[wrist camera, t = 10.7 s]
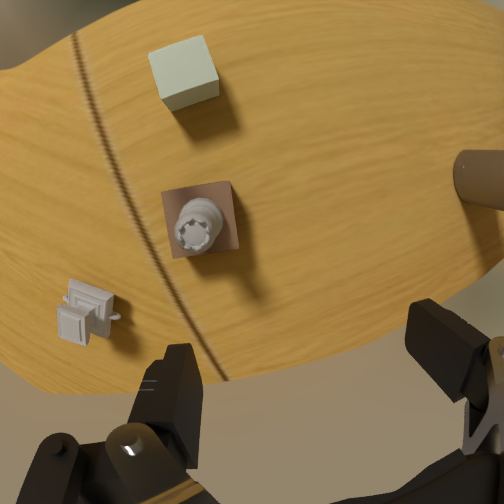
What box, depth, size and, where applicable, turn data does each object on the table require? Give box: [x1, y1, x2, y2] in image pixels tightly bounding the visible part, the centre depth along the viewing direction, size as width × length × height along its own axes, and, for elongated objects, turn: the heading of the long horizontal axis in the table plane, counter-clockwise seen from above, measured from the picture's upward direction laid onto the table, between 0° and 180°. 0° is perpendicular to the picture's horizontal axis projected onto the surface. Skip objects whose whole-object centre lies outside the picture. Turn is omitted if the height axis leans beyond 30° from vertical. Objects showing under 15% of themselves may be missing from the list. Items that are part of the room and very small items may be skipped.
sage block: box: [148, 35, 219, 112], centre depth 26 cm, size 6×6×6 cm
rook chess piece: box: [174, 198, 224, 253], centre depth 24 cm, size 4×4×8 cm
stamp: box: [57, 278, 121, 346], centre depth 30 cm, size 9×7×8 cm
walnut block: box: [161, 181, 239, 259], centre depth 30 cm, size 7×7×5 cm
